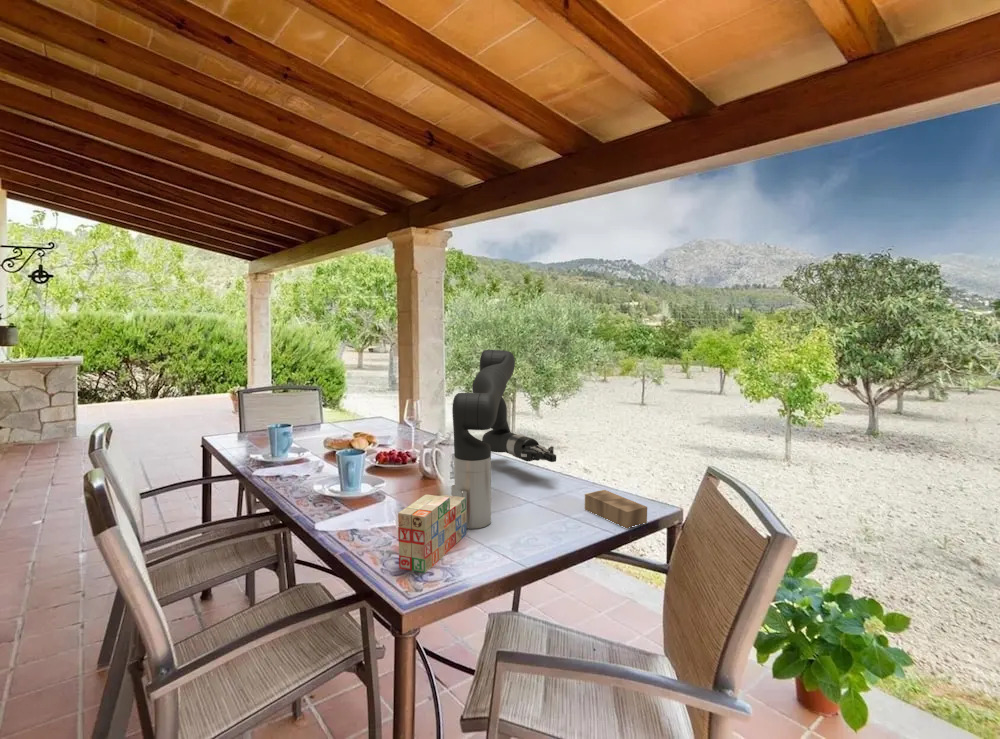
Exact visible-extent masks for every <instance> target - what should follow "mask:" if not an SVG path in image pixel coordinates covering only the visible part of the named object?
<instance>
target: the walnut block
mask: <svg viewBox="0 0 1000 739" xmlns="http://www.w3.org/2000/svg"><path fill="white" fill-rule="evenodd" d="M584 509H585V510H584V511H586V510H588V511H590V512H589V513H591V512H592V513H591V514H593V513H594V514H593V515H595V514H597V515H599V516H601V517H603V518H605V519H604V520H606V519H608V520H610V521H612V522H614V523H616V524H619V525H620V526H619V527H621V526H623V527H625V528H629V527H632V526H635V525H639V524H643V523H647V524H648V506H647V505H644V504H642V503H638V502H636V501H634V500H631V499H629V498H626V497H624V496H621V495H618V494H617V493H614V492H611V491H609V490H606V489H601V490H596V491H592V492H586V493H584ZM588 511H587V512H588ZM597 515H596V516H597ZM599 516H598V517H599ZM601 517H600V518H601ZM603 518H602V519H603ZM608 520H607V521H608ZM610 521H609V522H610ZM612 522H611V523H612ZM614 523H613V524H614ZM616 524H615V525H616ZM623 527H622V528H623ZM625 528H624V529H625Z"/></svg>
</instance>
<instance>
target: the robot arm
mask: <svg viewBox="0 0 1000 739" xmlns="http://www.w3.org/2000/svg"><path fill="white" fill-rule="evenodd" d="M515 360H516V359H515V356H514V354H513V353H512V352H511V351H510V350H501V349H500V350H498V349H484V350H482V351H481V354H480V358H479V372H477V374H476V376H475V377H474V379H473V381H472V386H471V389H472V390H471V391H472V392H458V393H457V394H455V396H454V398H453V401H452V407H451V408H452V409H451V410H452V426H453V429H452V430H453V449H454V453H453V455H454V456H453V457H454V459H453V460H454V468H453V469H454V473H453V474H454V484H452V485H451V490H450V491H451V495H450V496H458V497H465V498H466V529H471V530H472V529H481V528H482V529H483V528H485V527H488V526H489V525H490V524H491V523H492V453H500V454H501V453H507V454H509V455H511V456H513V457H515V458H517V459H520V460H522V461H525V462H533V461H536V462H537V461H547V462H550V463H556V461H557V455H556V454H555V452H554V451H555V450H554V449H555V448H554V446H550V447H548V448H547V447H545V446H542V445H540V444H539V442H538V441H537V440H536V439H535V438H532V437H529V436H525V435H521V434H518V433H513V432H511V429H510V426H509V422H508V418H507V417H508V414H507V412H508V409H507V408H508V407H507V403H506V401H505V399H504V398H503V396H504V394H505V390H506V388H507V385H508V382H509V381H510V379H511V377H512V376H513V374H514V372H515V371H514V370H515V366H516V365H515V364H516V361H515ZM490 429H491V430H490ZM487 430H489V431H487ZM470 431H487V432H485V433H484V434H483V436H482V438H481V439H482V440H481V439H479V438H477V437H475V436H474V435H472V433H470Z"/></svg>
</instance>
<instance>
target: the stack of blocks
mask: <svg viewBox="0 0 1000 739" xmlns="http://www.w3.org/2000/svg"><path fill="white" fill-rule="evenodd" d="M397 515H398V516H397V517H398V520H397V521H398V528H397V529H398V530H397V534H398V536H397V537H398V539H397V540H398V569H400V570H407V571H413V572H418V573H423V574H425V573H427V572H428V571H429V570H430V569H431V568H433V567H434V566H435V565H436V564H437V563H438V562H439V561H440V560H441V559H442V558H444V557H445V555H446V554H447V553H448V552H449V551H450V550H451V549H452V548H453V547H454V546H455V545H456V544H457V543H458V542H459V541H460V540H462V539H463V538H464V537H465V536H466V535H467V528H466V498H465V497H458V496H451V495H447V494H441V495H432V494H424V495H422V496H421V497H420V498H418V499H417V500H415V501H414V502H413V503H411V504H409V505H408V506H407V507H405V508H404V509H402V510H400V511H398V513H397Z"/></svg>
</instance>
